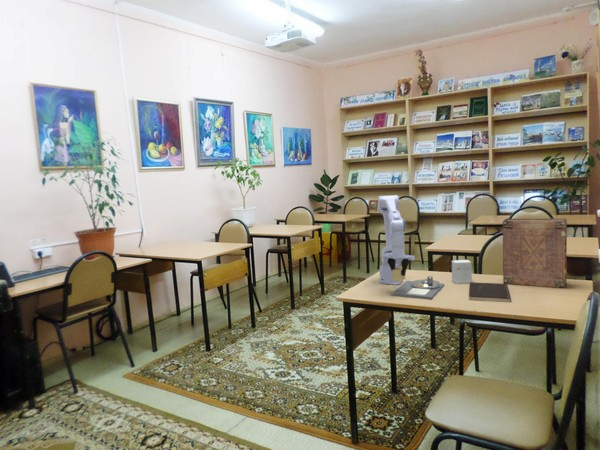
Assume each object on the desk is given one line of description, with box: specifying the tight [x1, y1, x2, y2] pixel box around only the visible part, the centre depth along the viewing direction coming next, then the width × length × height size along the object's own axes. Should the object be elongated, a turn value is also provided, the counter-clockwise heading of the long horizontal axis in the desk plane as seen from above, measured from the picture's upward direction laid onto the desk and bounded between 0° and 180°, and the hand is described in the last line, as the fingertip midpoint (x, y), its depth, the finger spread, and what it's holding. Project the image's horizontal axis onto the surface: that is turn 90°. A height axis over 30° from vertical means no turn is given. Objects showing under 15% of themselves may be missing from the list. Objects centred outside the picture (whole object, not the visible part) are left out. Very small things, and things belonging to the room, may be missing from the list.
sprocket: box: [411, 275, 440, 289], centre depth 200 cm, size 13×13×5 cm
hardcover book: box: [468, 281, 512, 303], centre depth 186 cm, size 16×23×2 cm
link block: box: [392, 266, 406, 282], centre depth 194 cm, size 4×6×5 cm, turn 148°
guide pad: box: [407, 288, 430, 296], centre depth 191 cm, size 8×9×1 cm
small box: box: [451, 259, 473, 285], centre depth 207 cm, size 8×6×10 cm
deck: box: [390, 280, 445, 300], centre depth 197 cm, size 18×24×1 cm
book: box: [502, 218, 568, 290], centre depth 195 cm, size 25×9×30 cm, turn 58°
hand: (398, 275), depth 194 cm, fingers closed on link block, 4 cm apart
